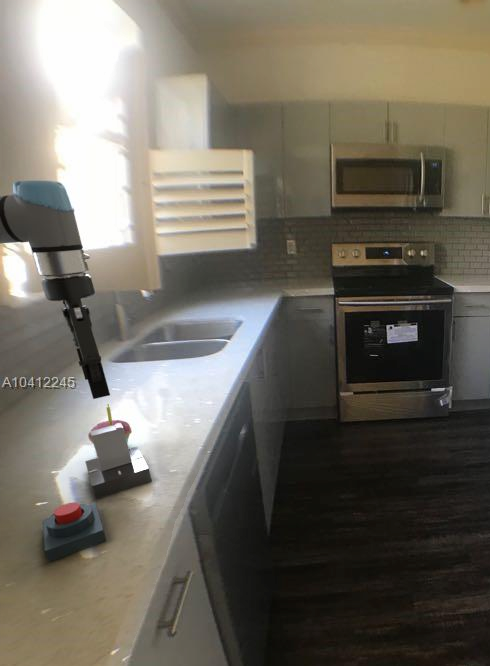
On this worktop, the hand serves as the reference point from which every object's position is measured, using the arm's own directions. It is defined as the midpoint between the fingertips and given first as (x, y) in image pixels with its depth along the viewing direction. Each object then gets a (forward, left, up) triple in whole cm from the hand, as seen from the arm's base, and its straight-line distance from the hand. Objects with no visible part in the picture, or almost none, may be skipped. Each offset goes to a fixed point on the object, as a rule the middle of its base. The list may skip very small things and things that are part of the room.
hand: (97, 386), depth 89 cm
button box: (+17, -9, -20) cm, 28 cm away
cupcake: (-13, +1, -20) cm, 24 cm away
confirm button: (+17, -9, -16) cm, 25 cm away
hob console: (+1, 0, -20) cm, 20 cm away
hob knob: (+1, 0, -17) cm, 17 cm away
